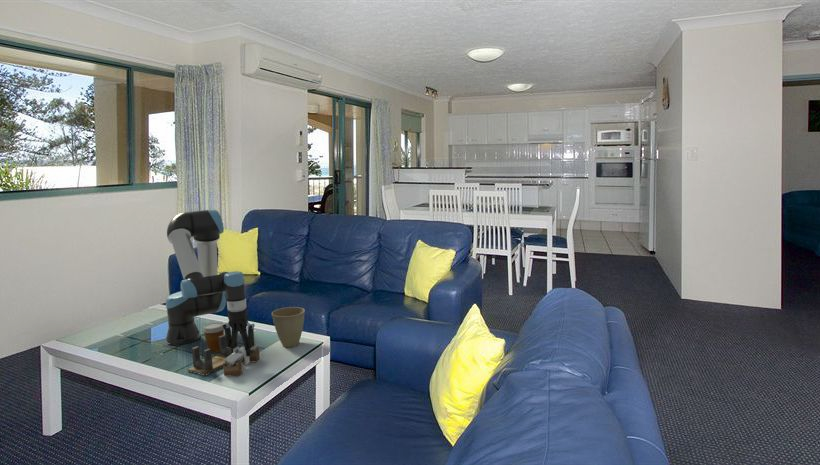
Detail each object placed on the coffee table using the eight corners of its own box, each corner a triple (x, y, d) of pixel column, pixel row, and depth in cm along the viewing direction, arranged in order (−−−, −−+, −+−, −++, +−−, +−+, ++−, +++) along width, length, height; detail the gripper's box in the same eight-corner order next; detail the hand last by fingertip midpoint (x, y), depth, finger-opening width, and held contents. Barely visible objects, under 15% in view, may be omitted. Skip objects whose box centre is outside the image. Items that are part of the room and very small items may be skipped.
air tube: (234, 367, 201) (233, 357, 200) (224, 366, 202) (223, 356, 201) (257, 349, 218) (256, 340, 217) (248, 349, 219) (247, 340, 218)
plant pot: (305, 349, 227) (302, 315, 225) (271, 351, 226) (268, 317, 224) (308, 337, 242) (306, 305, 239) (277, 339, 241) (274, 307, 238)
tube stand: (238, 376, 201) (237, 363, 201) (224, 375, 203) (222, 363, 202) (260, 359, 218) (259, 347, 217) (246, 358, 219) (245, 347, 218)
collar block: (188, 371, 208) (185, 350, 206) (227, 353, 226) (225, 333, 225) (205, 375, 203) (202, 353, 202) (243, 356, 222) (241, 336, 220)
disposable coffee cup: (206, 356, 224) (203, 330, 222) (203, 349, 232) (201, 324, 230) (228, 351, 228) (225, 326, 226) (225, 345, 237) (222, 320, 235)
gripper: (213, 311, 205) (218, 365, 208) (251, 312, 201) (256, 367, 205) (223, 305, 212) (229, 358, 216) (260, 307, 208) (265, 360, 212)
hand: (242, 362), depth 210 cm, fingers closed on air tube, 4 cm apart
